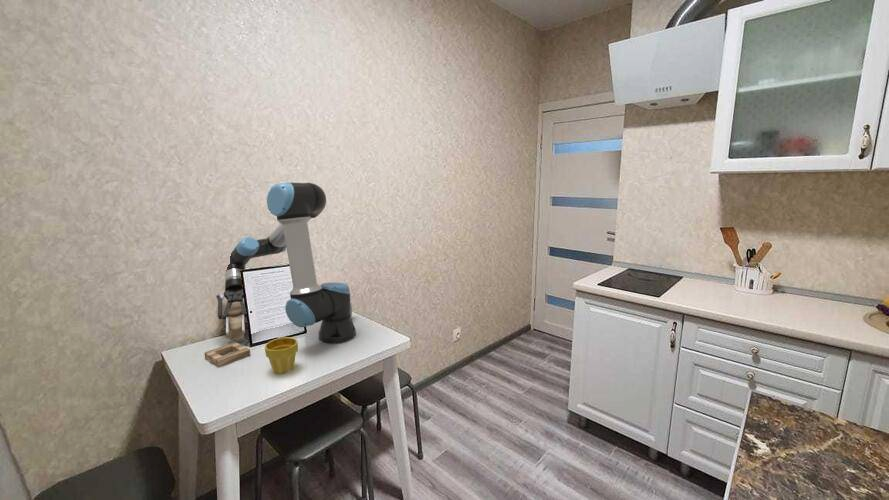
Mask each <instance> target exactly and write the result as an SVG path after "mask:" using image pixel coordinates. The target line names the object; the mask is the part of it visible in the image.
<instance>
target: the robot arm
mask: <svg viewBox="0 0 889 500" xmlns="http://www.w3.org/2000/svg"><path fill="white" fill-rule="evenodd" d="M266 196H267V197H266V206H267V209H268V211H269V212H270V214H272V216H275V217H276V219H277V222H278V223H279V225H278V226H277V227H276V228H275V229H274V230H273V231H272V233H270V234H269V236H267V237H266V238H261V239H255V238H254V237H250V236H245V237H243V238H242V239H241V240H240V241H239V242H238V243H237V244H236V246H235V247H233V248H234V250H233V251H232V253H231V256H230V264H229V265H228V267H227V270H228V271H227V270H226V273H225V272H224V273H225V275H224V292H223V294H217V295H216V299H217V318H218V319H219V320H222V325H223V327H224V328H225V334H226V336H230V329H229V319H228V316H227V310H228V309H231V308H232V305H233V303H239V304H240V306H241V307H240V308H242V332H243V333H244V334H245V333H246V325H248V324H249V320H248V321H247V312H248V311H247V308H246V305H245V303H244V298H245V297H244V294H243V287H242V280H241V274H240V271H241V270H244V269H245V270H246V265H247V264H248V262H250V260H252V259H255V258H258V257H259V258H260V257H261V258H262V257H266V256H270V255H271V256H272V255H278V254H280V253H284V252H286V253H287V258H288V265H289V269H290V277H291V283H292V289H291V291H289V296H290V299H288V300H287V301H286V303H285V305H284V307H285V308H284V309H285V314H286V316H287V318H288V320H289V321H290V322H291V323H292V324H293V325H294V326H296V327H298V328H307V327H309V326H313V325H315V324H317V323H319V322H321V324H320V327H319V330H318V340H319V341H320V342H322V343H325V344H341V343H345V341H346V342H348V340H349V341H351V340H353V339H354V338H355V337H356V327H355V325H354V324H355V323H354V322H353V319H352V316H351V309H350V302H351V293H350V286H349V285H348V284H347V283H342V282H324V283H321V284H318V281H317V275H316V269H315V265H314V263H315V262H314V257H313V250H312V244H311V238H310V232H309V225H308V223H309V222H310V220H312V219H316V218H317V217H318V216H320V215H321V213H322V212H323V211H324V209H325V208H326V206H327V205H326V204H327V195H326V193H325V191H324V190H323V188H322V187H320V185H317V184H316V183H312V182H279V183H276V184H273V185H272V187H271V188H270V189H269V191H268V193H267V195H266ZM224 299H226V300H227V302H226V305H225V308H224V311H223V301H224ZM246 311H247V312H246ZM250 313H252V311H250ZM354 336H355V337H354ZM353 337H354V338H353ZM350 339H351V340H350Z"/></svg>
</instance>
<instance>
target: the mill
mask: <svg viewBox="0 0 889 500" xmlns="http://www.w3.org/2000/svg"><path fill="white" fill-rule="evenodd" d="M242 315H243V310H242V307H231V308H230V309H228V310H227V316H228V319H229V336H230V340H231V341H233V340H240V339H245V333H243V332H242Z"/></svg>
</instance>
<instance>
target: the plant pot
mask: <svg viewBox="0 0 889 500" xmlns="http://www.w3.org/2000/svg"><path fill="white" fill-rule="evenodd" d="M298 350H299V342H298V340H297V338H294V337H290V336H289V337H287V336H286V337H279V338H275V339H272V340H270V341H268V342H267V343H266V344H265V345H264V351H265V352H264V354H265V357H266V358H268V360H269V363H270V366H271V369H272V372H273V373H274V374H276V375H277V374H278V375H281V374H286V373H289V372H291V371H292V370H294V368H295V362H296V355H297V353H298Z"/></svg>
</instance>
